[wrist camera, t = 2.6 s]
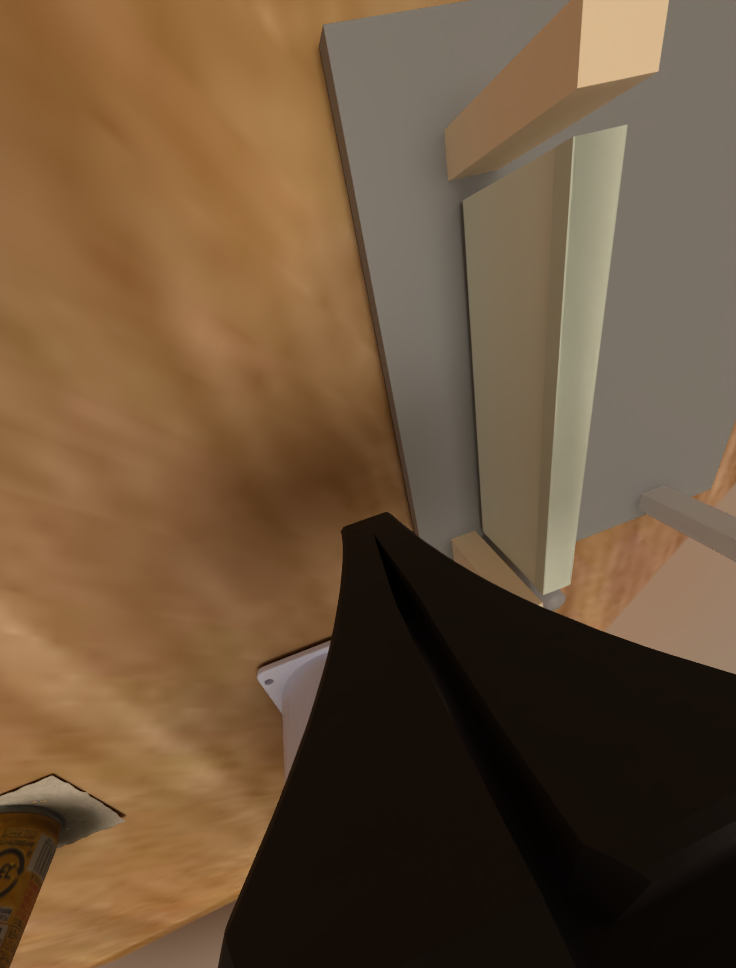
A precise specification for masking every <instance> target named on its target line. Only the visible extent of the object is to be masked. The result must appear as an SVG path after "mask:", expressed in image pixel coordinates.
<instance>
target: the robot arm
mask: <svg viewBox="0 0 736 968" xmlns="http://www.w3.org/2000/svg"><path fill="white" fill-rule="evenodd" d="M341 534H342V542H343V564H342V575H341V586H340V594H339V600H338V606H337V612H336V618H335V623H334V628H333V633H332V638H331V640H330V641H327V642H325V643H322V644H320V645H317V646H314V647H312V648H309V649H307V650H304V651H302V652H299V653H297V654H294V655H291V656H289V657H286V658H284V659H281V660H279V661H276V662H273V663H271V664H268V665H266V666H263V667H261V668H260V669H259V670H258V671H257V680H258V681H259V683H260V684H261V685H262V687H263V688H264V690H265V691H266V692H267V694H268V695H269V697H270V698H271V699H272V701H273V702H274V704H275V705H276V706H277V708H278V709H279V711H280V712H281V713H282V716H283V745H284V774H285V786H284V788H283V791H282V794H281V796H280V799H279V801H278V804H277V806H276V809H275V811H274V814H273V816H272V819H271V821H270V824H269V826H268V828H267V831H266V833H265V835H264V838H263V840H262V842H261V845H260V847H259V850H258V852H257V854H256V857H255V859H254V861H253V864H252V866H251V868H250V871H249V873H248V876H247V878H246V880H245V883H244V885H243V887H242V890H241V892H240V894H239V897H238V899H237V902H236V904H235V906H234V909H233V911H232V913H231V916H230V918H229V921H228V923H227V926H226V929H225V933H224V938H223V943H222V948H221V954H220V959H219V965H218V968H736V674H733V673H729V672H726V671H723V670H719V669H716V668H713V667H710V666H706V665H703V664H700V663H696V662H693V661H690V660H687V659H683V658H680V657H677V656H673V655H669V654H667V653H664V652H660V651H657V650H654V649H651V648H648V647H645V646H642V645H639V644H637V643H634V642H630V641H628V640H625V639H622V638H620V637H617V636H614V635H611V634H608V633H605V632H603V631H600V630H598V629H595V628H593V627H590V626H588V625H585V624H583V623H580V622H578V621H575V620H573V619H570V618H568V617H565V616H563V615H561V614H558V613H556V612H553V611H551V610H548V609H546V608H543V607H541V606H539V605H537V604H535V603H533V602H530V601H528V600H526V599H524V598H522V597H520V596H518V595H515V594H513V593H511V592H509V591H507V590H505V589H503V588H501V587H499V586H498V585H496V584H494V583H492V582H490V581H488V580H486V579H484V578H483V577H481V576H479V575H477V574H475V573H474V572H472V571H470V570H469V569H467V568H465V567H464V566H462V565H460V564H459V563H457V562H455V561H454V560H452V559H451V558H449V557H447V556H446V555H444V554H443V553H441V552H440V551H438V550H437V549H436V548H434V547H433V546H431V545H430V544H428V543H427V542H425V541H424V540H423V539H421V538H420V537H418V536H417V535H416V534H415V533H413V532H412V531H411V530H409V529H408V528H407V527H406V526H404V525H403V524H402V523H401V522H399V521H398V520H397V519H396V518H395V517H394V516H393V515H391V514H390V513H388V512H385V513H382V514H379V515H376V516H373V517H370V518H367V519H365V520H362V521H359V522H356V523H353V524H350V525H347V526H345V527H343V529H342V531H341Z"/></svg>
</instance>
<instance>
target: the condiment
mask: <svg viewBox="0 0 736 968" xmlns="http://www.w3.org/2000/svg"><path fill="white" fill-rule="evenodd" d="M44 800H47V802H40V801H44ZM33 801H37V803H32V802H33ZM122 822H125V820H123V819H122V818H121V817H119V816H118V814H117V813H116V812H114V811H112V810H111V809H110V808H108V807H105V805H104V804H103V803H101V802H99V801H98V800H96V799H94V798H92V797H90V796H89V795H88V793H87V792H81V791H79V790H77V789H75V788H74V787H73V786H72V785H70V784H69V783H65V782H63V781H61V780H59V779H57V778H56V777H54V776H50V777H47V778H45V779H42V780H41V781H39V782H36V783H34V784H30V785H27V786H24V787H22V788H20V789H19V790H17V791H14V792H11V793H8V794H5V795H2V796H0V968H9V967H10V964H11V962H12V960H13V957H14V955H15V952H16V950H17V947H18V945H19V942H20V940H21V937H22V935H23V932H24V929H25V927H26V925H27V922H28V919H29V917H30V915H31V912H32V909H33V907H34V904H35V902H36V899H37V897H38V894H39V892H40V889H41V886H42V884H43V882H44V879H45V877H46V874H47V872H48V869H49V866H50V864H51V862H52V859H53V856H54V854H55V851H56V848H58V847H62V846H63V845H68V844H72V843H74V842H76V841H77V840H79V839H81V838H84V837H87V836H89V835H91V834H93V833H95V832H98V831H100V830H105V829H109V828H112V827H113V826H115V825H118V824H120V823H122Z"/></svg>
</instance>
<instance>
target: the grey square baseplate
mask: <svg viewBox="0 0 736 968" xmlns="http://www.w3.org/2000/svg"><path fill="white" fill-rule="evenodd" d="M319 48H320V53H321V59H322V64H323V69H324V74H325V79H326V84H327V89H328V94H329V99H330V104H331V109H332V115H333V120H334V125H335V130H336V135H337V140H338V145H339V150H340V155H341V160H342V165H343V171H344V176H345V181H346V186H347V191H348V196H349V201H350V206H351V211H352V216H353V221H354V227H355V232H356V237H357V242H358V247H359V252H360V257H361V262H362V267H363V272H364V278H365V283H366V288H367V293H368V298H369V303H370V308H371V313H372V318H373V323H374V328H375V334H376V339H377V344H378V349H379V354H380V359H381V364H382V369H383V374H384V379H385V384H386V390H387V395H388V400H389V405H390V410H391V415H392V420H393V425H394V430H395V435H396V440H397V446H398V451H399V456H400V461H401V466H402V471H403V476H404V481H405V486H406V491H407V497H408V502H409V507H410V512H411V517H412V522H413V527H414V532H415V534H416V535H417V536H418V537H420V538H421V539H423V540H424V541H425V542H427V543H428V544H430V545H431V546H433V547H434V548H436V549H437V550H438V551H440V552H441V553H443V554H444V555H446V556H447V557H449V558H451V559H452V560H454V561H455V562H457V563H459V564H460V565H462V566H464V567H465V568H467V569H469V570H470V571H472V572H474V573H475V574H477V575H479V576H481V577H483V578H484V579H486V580H488V581H490V582H492V583H494V584H496V585H498V586H499V587H501V588H503V589H505V590H507V591H509V592H511V593H513V594H515V595H518V596H520V597H522V598H524V599H526V600H528V601H530V602H533V603H535V604H537V605H539V606H541V607H543V603H542V602H541V600H540V599H539V598H538V597H537V596H536V595H535V594H534V593H533V592H532V591H531V590H530V589H529V588H528V587H527V586H526V584H525V583H524V582H523V581H522V580H521V579H520V578H519V577H518V576H517V575H516V574H515V573H514V572H513V571H512V570H511V568H510V567H509V566H508V565H507V564H506V563H505V562H504V561H503V560H502V559H501V558H500V557H499V556H498V555H497V554H496V553H495V551H494V550H493V549H492V548H491V547H490V546H489V545H488V544H487V543H486V542H485V540H486V538H487V536H486V534H485V533H484V532H483V525H482V508H481V492H480V475H479V459H478V443H477V426H476V410H475V394H474V377H473V361H472V344H471V328H470V312H469V295H468V279H467V262H466V246H465V230H464V213H463V200H464V199H466V198H468V197H469V196H471V195H473V194H475V193H476V192H478V191H480V190H482V189H483V188H485V187H487V186H489V185H491V184H492V183H494V182H496V181H498V180H499V179H501V178H503V177H505V176H506V175H508V174H510V173H512V172H513V171H515V170H517V169H519V168H520V167H522V166H524V165H526V164H527V163H529V162H531V161H533V160H534V159H536V158H538V157H540V156H542V155H543V154H545V153H547V152H549V151H550V150H552V149H554V148H555V147H556V146H558V145H560V144H561V143H563V142H565V141H567V140H568V139H570V138H572V137H574V136H578V135H583V134H587V133H592V132H596V131H601V130H605V129H610V128H614V127H618V126H623V125H627V124H628V125H627V133H626V141H625V149H624V157H623V165H622V173H621V182H620V190H619V198H618V206H617V214H616V222H615V230H614V238H613V246H612V254H611V262H610V270H609V278H608V286H607V294H606V302H605V310H604V318H603V326H602V334H601V342H600V350H599V358H598V366H597V374H596V382H595V390H594V398H593V406H592V414H591V422H590V430H589V439H588V447H587V455H586V463H585V471H584V479H583V487H582V495H581V503H580V511H579V519H578V527H577V535H576V541H578V540H581V539H583V538H586V537H589V536H591V535H594V534H596V533H599V532H601V531H604V530H607V529H609V528H612V527H614V526H617V525H619V524H622V523H625V522H627V521H630V520H632V519H635V518H637V517H640V516H643V515H645V514H648V515H649V516H651V517H653V518H655V519H657V520H659V521H661V522H662V523H664V524H666V525H668V526H670V527H672V528H674V529H675V530H677V531H679V532H681V533H683V534H685V535H687V536H689V537H690V538H692V539H694V540H696V541H698V542H700V543H702V544H703V545H705V546H707V547H709V548H711V549H713V550H715V551H716V552H718V553H720V554H722V555H724V556H726V557H728V558H729V559H732V560H733V561H735V562H736V517H735V516H732V515H730V514H728V513H725V512H723V511H721V510H719V509H716V508H714V507H712V506H710V505H707V504H705V503H703V502H701V501H698V500H696V499H694V498H692V497H691V496H694V495H697V494H699V493H702V492H704V491H707V490H709V489H711V487H712V484H713V481H714V478H715V476H716V473H717V470H718V467H719V464H720V462H721V459H722V456H723V453H724V451H725V448H726V445H727V442H728V439H729V437H730V434H731V431H732V428H733V425H734V423H735V420H736V0H470V1H464V2H458V3H452V4H446V5H439V6H433V7H427V8H421V9H415V10H409V11H403V12H397V13H391V14H385V15H378V16H372V17H366V18H360V19H354V20H348V21H342V22H336V23H330V24H324V25H323V28H322V33H321V38H320V44H319Z"/></svg>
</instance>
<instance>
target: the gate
mask: <svg viewBox="0 0 736 968" xmlns="http://www.w3.org/2000/svg"><path fill="white" fill-rule="evenodd" d="M627 125H628V124H627ZM627 125H623V126H618V127H614V128H610V129H605V130H601V131H596V132H592V133H587V134H583V135H578V136H574V137H572V138H570V139H568V140H567V141H565V142H563V143H561V144H560V145H558V146H556V147H555V148H554V149H552V150H550V151H549V152H547V153H545V154H543V155H542V156H540V157H538V158H536V159H534V160H533V161H531V162H529V163H527V164H526V165H524V166H522V167H520V168H519V169H517V170H515V171H513V172H512V173H510V174H508V175H506V176H505V177H503V178H501V179H499V180H498V181H496V182H494V183H492V184H491V185H489V186H487V187H485V188H483V189H482V190H480V191H478V192H476V193H475V194H473V195H471V196H469V197H468V198H466V199H464V200H463V213H464V230H465V246H466V262H467V279H468V295H469V312H470V328H471V344H472V361H473V377H474V394H475V410H476V426H477V443H478V459H479V475H480V492H481V508H482V525H483V532H484V533H485V534H486V536H487V538H486V540H485V542H486V543H487V544H488V545H489V546H490V547H491V548H492V549H493V550H494V551H495V553H496V554H497V555H498V556H499V557H500V558H501V559H502V560H503V561H504V562H505V563H506V564H507V565H508V566H509V567H510V568H511V570H512V571H513V572H514V573H515V574H516V575H517V576H518V577H519V578H520V579H521V580H522V581H523V582H524V583H525V584H526V586H527V587H528V588H529V589H530V590H531V591H532V592H533V593H534V594H535V595H536V596H537V597H538V598H539V599H540V600H541V602H542V603H543V607H544V608H546V609H548V610H551V611H553V610H556V609H558V608H559V607H560V606H562V604H563V603H564V602H565V599H566V596H565V595H564V594H563V593H562V592H561V591H560V590H559V589H560V588H563V587H565V586H568V585H570V583H571V575H572V567H573V559H574V551H575V543H576V535H577V527H578V519H579V511H580V503H581V495H582V487H583V479H584V471H585V463H586V455H587V447H588V439H589V430H590V422H591V414H592V406H593V398H594V390H595V382H596V374H597V366H598V358H599V350H600V342H601V334H602V326H603V318H604V310H605V302H606V294H607V286H608V278H609V270H610V262H611V254H612V246H613V238H614V230H615V222H616V214H617V206H618V198H619V190H620V182H621V173H622V165H623V157H624V149H625V141H626V133H627Z"/></svg>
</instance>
